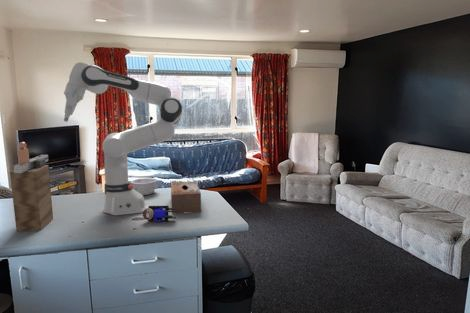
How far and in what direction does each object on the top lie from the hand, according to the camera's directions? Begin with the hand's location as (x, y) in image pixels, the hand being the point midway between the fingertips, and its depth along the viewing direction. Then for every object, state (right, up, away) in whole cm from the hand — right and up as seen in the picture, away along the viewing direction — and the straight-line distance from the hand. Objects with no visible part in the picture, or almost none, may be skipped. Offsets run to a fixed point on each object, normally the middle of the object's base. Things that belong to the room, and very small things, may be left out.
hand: (65, 119), depth 168 cm
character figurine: (+47, -48, -7) cm, 68 cm away
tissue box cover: (+56, -45, +17) cm, 73 cm away
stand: (-8, -49, -13) cm, 51 cm away
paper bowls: (+28, -41, +40) cm, 63 cm away
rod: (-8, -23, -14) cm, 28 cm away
